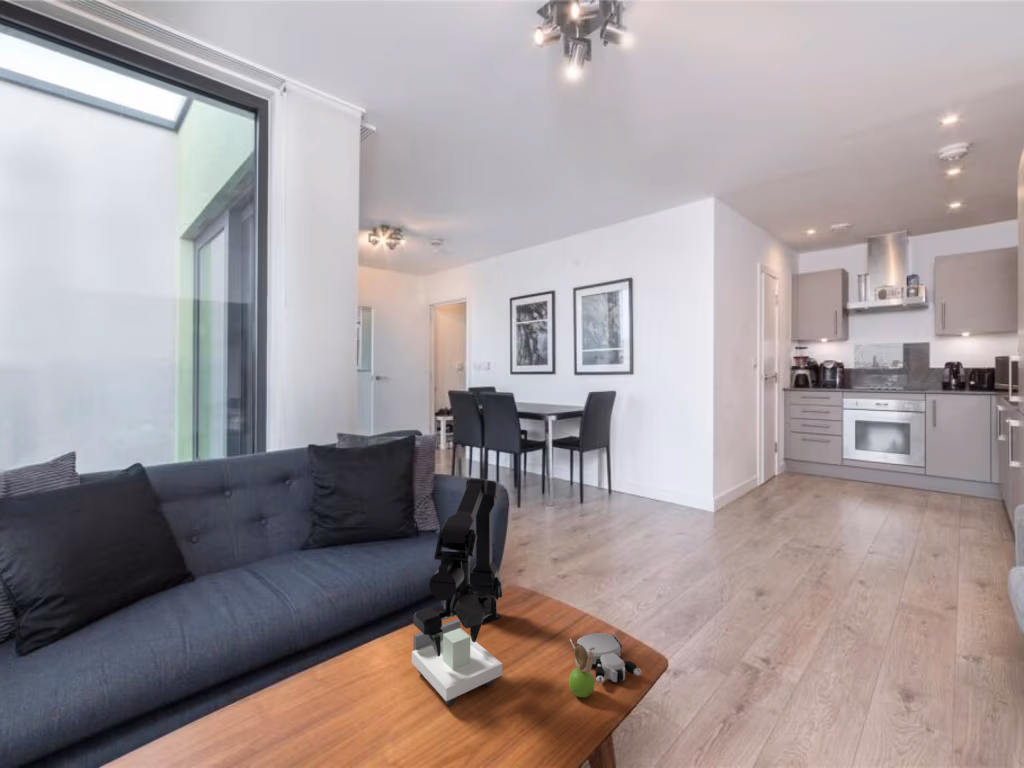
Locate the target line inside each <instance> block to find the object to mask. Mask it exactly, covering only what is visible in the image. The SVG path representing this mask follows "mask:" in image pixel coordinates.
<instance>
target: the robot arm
mask: <svg viewBox="0 0 1024 768" xmlns="http://www.w3.org/2000/svg"><path fill="white" fill-rule="evenodd" d="M500 491H501V488H500V484H498V483H497V482H496V480H489V479H488V480H487V479H485V478H477V477H470V478H468V479H467V480H466V484H465V489H464V493H463V495H462V497H461V500H460V502H459V505H458V507H457V510H456V511H455V514H452V515H451V516H449V517H447V518H446V520H445V522H444V524H443V526H442V527H441V528H440V530H439V534H438V537H437V544H436V548H435V553H434V557H433V559H434V561H435V560H438V561H440V565H438V569H437V570H436V572H435V573H434V574H433V575H432V577H431V578H430V580H429V583H428V587H429V591H430V593H431V595H432V596H433V597H434V598H436V599H437V600H440V605H441V606H442V607H443V609H441V610H439V611H435V610H434V608H432V607H426V608H424V609H421V610H417V611H416V612H415V613H414V615H413V626H415V627H416V628H417V629H418V630H419V631H420V632H422V633H423V634H424V635H428V636H429V638H430V640H431V643H432V645H433V648H434V650H435V653H436V655H437V656H438V657H439V656H440V652H441V644H440V635H441V633H442V632H443V631H442V630H441V629H440V628H441V627H442V625H443V621H445V620H448V619H451V618H454V617H457V619H459V620H460V621H461V626H462V627H463V628H464V629H470V631H469V632H470V637H471V640H472V642H477V639H478V635H479V634H480V630H481V627H482V625H484V624H486V623H490V622H491V621H495V620H497V619H500V618H501V616H502V615H501V614H499V613H498V612H497V611H498V609H497V608H498V601H497V600H499V599H500V598H502V597H503V584H502V582H501V579H500V577H499V573H498V572H499V570H498V567H497V565H496V563H494V561H493V509H494V508H495V506H496V504H497V502H498V498H499V497H500ZM474 522H475V525H474ZM443 549H444V550H443ZM448 550H449V551H448ZM450 550H451V551H450ZM474 555H475V565H474V566H473V568H472V570H470V569H471V559H472V557H474Z"/></svg>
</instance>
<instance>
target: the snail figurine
mask: <svg viewBox="0 0 1024 768" xmlns="http://www.w3.org/2000/svg"><path fill="white" fill-rule="evenodd" d="M574 647H575V650H574V657H575V658H574V663H575V667H576V668H574V669H573V670H572V671H571V672H570V674H569V676H568V686H569V688H570V691H571V692H572V693H573V694H574V696H576V697H578V698H581V699H582V698H587V697H589V696H591V694H592V693H593V691H594V689H595V679H594V678H595V677H594V676H593V674H592V673H591V670H592V667H593V664H592V663H593V657H594V654H593V653H592V652H591V650H594V647H592V648H589V650H590V651H589V652H588V654H587V651H586V649H585V648H584V647H583V646H582V645H577V646H576V645H575V646H574Z"/></svg>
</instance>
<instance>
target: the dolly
mask: <svg viewBox="0 0 1024 768" xmlns="http://www.w3.org/2000/svg"><path fill="white" fill-rule="evenodd" d="M461 626H462V623H461V621H460V620H459V618H457V619H454V620H451V621H449V622H445V623H444V624H443V623H442V627H441V628H440V629H441V630H442V631H443V632H442V633H441V635H440V644H441V652H440V656H439V657H438V656H437V655H436V653H435V650H434V648H433V645H432V643H431V640H430V638H429V636H428V635H424V634H423V633H422V632H421V631H420V632H417V633H415V634H413V650H412V651H411V664H412V665H413V666H414V667H415V668H416V669H417V673H418V674H419V675H420V676H422V677H424V678H425V679H426V681H428V683H429V684H430V685H431V686H432V688H434V689H435V690H436V692H437V693H438V694H439V695H440V696H441V697H442V698H443V701H444V702H445V704H446V705H447V706H449V707H450V706H452V705H454V704H455V703H456V700H457V697H458V696H461V695H463V694H466V693H467V692H469V691H472V690H475V689H476V688H478V687H480V686H482V685H486V686H487V687H493V685H494V684H495V682H496V679H497V678H499V677H501V676H503V663H502V662H501V661H500V660H499V659H497V658H496V656H494V655H492V654H491V652H489V651H488V650H487V649H486V648H484V647H483V646H482V645H481V644H479V643H478V642H477V641H476V642H472V640H471V636H470V663H469V664H467V665H465V666H462V667H460V668H458V669H455V670H452V669H451V668H450V667H449V666H448V665H447V664H446V663H445V662H444V661H443V634H445V633H447V632H450V631H453V630H456V629H458V628H461ZM461 629H462V628H461Z"/></svg>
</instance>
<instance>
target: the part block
mask: <svg viewBox="0 0 1024 768" xmlns="http://www.w3.org/2000/svg"><path fill="white" fill-rule="evenodd" d="M470 637H471V635H469V634H468V633H467V632H466V631H465V630H464V629H462V628H458V629H456V630H453V631H450V632H447V633H445V634H443V661H444V662H445V663H446V664H447V665H448V666H449V667H450V668H451V669H452V670H455V669H458V668H460V667H462V666H465V665H467V664H469V663H470Z"/></svg>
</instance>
